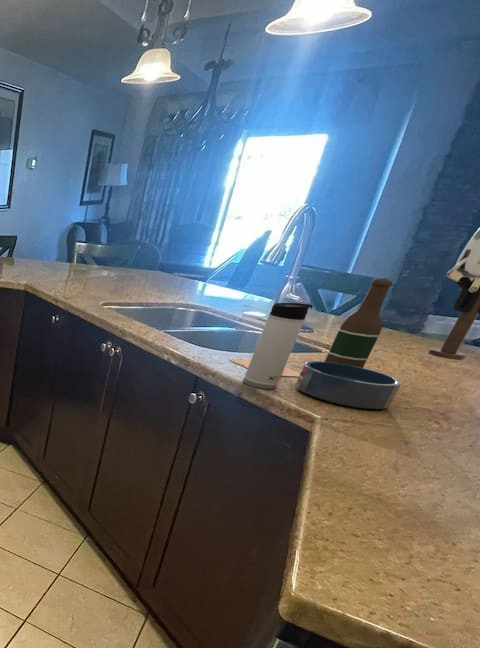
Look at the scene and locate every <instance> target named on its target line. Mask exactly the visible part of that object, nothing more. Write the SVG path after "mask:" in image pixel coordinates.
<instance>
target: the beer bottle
mask: <svg viewBox="0 0 480 648" xmlns="http://www.w3.org/2000/svg"><path fill="white" fill-rule="evenodd" d="M370 283H371V286H370V287H369V290H368V291H367V293H366V295H365V296H364V298H363V300H362V302H361V303H360V305H359V306H358V308H357V309H356V310H355V311H353V312H352V313H350V314H348V316H346V317H345V318H344V320H343V321H342V323H341V325H340V326H339V328H338V329H337V332H336V334H335V337H334V338H333V341H332V343H331V345H330V348H329V350H328V351H327V354H326V356H325V359H324V362H335V363H341V364H348V365H353V366H358V367H363V368H365V365H366V362H367V361H368V359H369V357H370V355H371V352H372V350H373V349H374V347H375V345H376V342H377V341H378V338H379V336H380V333H381V331H382V329H383V321H382V320H383V319H382V318H381V315H380V314H381V311H382V310H381V309H382V306H383V305H384V301H385V299H386V297H387V293H388V291H389V289H390V287H392V286H393V281H392V280H391V279H386V278H385V279H384V278H374V279H372V281H371V282H370Z"/></svg>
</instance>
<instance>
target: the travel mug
mask: <svg viewBox="0 0 480 648" xmlns="http://www.w3.org/2000/svg"><path fill="white" fill-rule="evenodd" d="M309 309H313V303H299V302H276V303H274V304H273V305H272V307H271V310H270V312H269V313H268V316H267V319H266V320H265V324H264V326H263V328H262V331H261V334H260V336H259V339H258V341H257V344H256V346H255V349H254V352H253V354H252V355H251V356H252V357H251V359H250V360H249V361H250V364H249V366H248V368H247V369H246V371H245V375H244V377H243V380H242V383H244V384H245V385H247V386H249V387H252V388H256V389H260V390H274V389H276V388H277V386H278V383H279V382H280V379H281V377H282V376H281V374H282V372H283V370H284V367H286V365H287V363H288V360H289V358H290V355H291V354H292V352H293V351H292V350H293V348H294V346H295V344H296V341H297V340H298V337H299V335H300V332H301V330H302V327H303V325H304V323H305V320H306V317H307V315H308V311H309Z"/></svg>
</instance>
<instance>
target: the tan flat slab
mask: <svg viewBox="0 0 480 648" xmlns="http://www.w3.org/2000/svg"><path fill="white" fill-rule="evenodd" d="M229 361H230V362H232V363H235V364H237V365H240V366H242V367H244V368H247V369H248V366H249V364H250V361H251V360H243V359H229ZM300 374H301V372H299V371H297V370H294V369H292V368H289V367H286V366H285V367H284V370H283V372H282V374H281V377H299V376H300Z"/></svg>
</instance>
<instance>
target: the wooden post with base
mask: <svg viewBox="0 0 480 648" xmlns="http://www.w3.org/2000/svg"><path fill="white" fill-rule="evenodd" d="M476 292H477V293H479V296H478V297H477V299H476V301H475V303H474V304H473V306H472V308H471V310H470V311H469V312H467V313H465V312H460V313H459V315H458V318H457V319H456V321H455V323H454V325H453V326H452V328H451V330H450V332H449V334H448V336H447V337H446V339H445V341H444V343H443V344H442V347H441V348H439V347H432V348H430V349H429V351H428V354H429V355H431V356H434V357H437V358H442V359H448V360H456V361H464V360H465V358H466V357H467V354H466V353H464V352H462V351H461V352H460V351H459V349H460V347H461V345H462V343H463V342H464V339H465V338H466V336H467V335H468V333H469V331H470V329H471V328H472V326H473V324H474V323H475V321H476V319H477V317H478V316H479V314H480V313H479V312H480V287H479V288H478V290H477V291H476Z"/></svg>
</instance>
